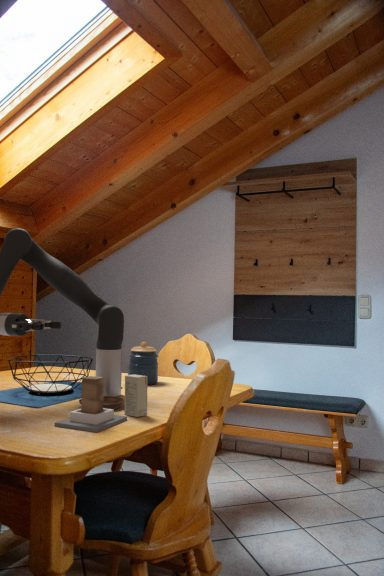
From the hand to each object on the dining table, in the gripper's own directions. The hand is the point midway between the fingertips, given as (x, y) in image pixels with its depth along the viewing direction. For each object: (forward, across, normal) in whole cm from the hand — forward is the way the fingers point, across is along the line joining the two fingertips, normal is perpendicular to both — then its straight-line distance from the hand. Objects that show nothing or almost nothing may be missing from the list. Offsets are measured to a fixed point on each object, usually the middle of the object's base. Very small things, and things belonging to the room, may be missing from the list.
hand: (52, 325), depth 161 cm
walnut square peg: (+20, -7, +26) cm, 33 cm away
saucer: (+11, +12, +28) cm, 32 cm away
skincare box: (+26, +8, +27) cm, 39 cm away
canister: (+1, +61, +28) cm, 67 cm away
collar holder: (+20, -7, +27) cm, 34 cm away
